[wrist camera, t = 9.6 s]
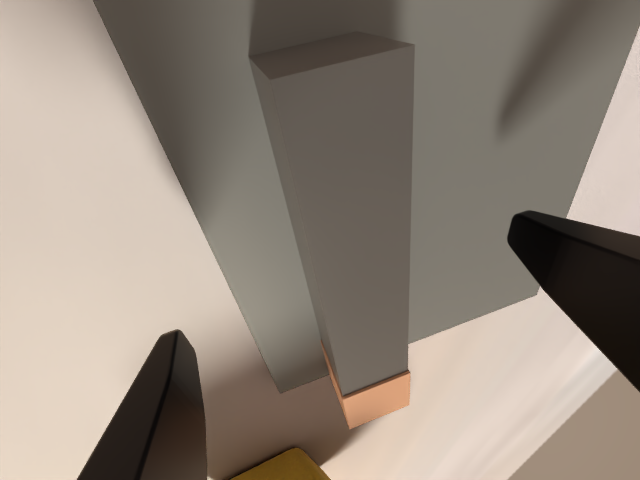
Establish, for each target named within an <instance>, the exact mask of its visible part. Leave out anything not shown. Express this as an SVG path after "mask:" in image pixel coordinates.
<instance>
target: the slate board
mask: <svg viewBox="0 0 640 480" xmlns="http://www.w3.org/2000/svg"><path fill="white" fill-rule="evenodd" d="M93 1H94V4H95V6H96V8H97V10H98V12H99V14H100V16H101V18H102V20H103V23H104V25H105V27H106V29H107V31H108V33H109V35H110V37H111V39H112V41H113V44H114V46H115V48H116V50H117V52H118V54H119V56H120V58H121V60H122V62H123V65H124V67H125V69H126V71H127V73H128V75H129V77H130V79H131V81H132V84H133V86H134V88H135V90H136V92H137V94H138V96H139V98H140V100H141V102H142V105H143V107H144V109H145V111H146V113H147V115H148V117H149V119H150V121H151V123H152V126H153V128H154V130H155V132H156V134H157V136H158V138H159V140H160V142H161V145H162V147H163V149H164V151H165V153H166V155H167V157H168V159H169V161H170V163H171V166H172V168H173V170H174V172H175V174H176V176H177V178H178V180H179V182H180V184H181V187H182V189H183V191H184V193H185V195H186V197H187V199H188V201H189V203H190V206H191V208H192V210H193V212H194V214H195V216H196V218H197V220H198V222H199V224H200V227H201V229H202V231H203V233H204V235H205V237H206V239H207V241H208V243H209V245H210V248H211V250H212V252H213V254H214V256H215V258H216V260H217V262H218V264H219V267H220V269H221V271H222V273H223V275H224V277H225V279H226V281H227V283H228V285H229V288H230V290H231V292H232V294H233V296H234V298H235V300H236V302H237V304H238V306H239V309H240V311H241V313H242V315H243V317H244V319H245V321H246V323H247V325H248V327H249V330H250V332H251V334H252V336H253V338H254V340H255V342H256V344H257V346H258V349H259V351H260V353H261V355H262V357H263V359H264V361H265V363H266V365H267V367H268V370H269V372H270V374H271V376H272V378H273V380H274V382H275V384H276V386H277V388H278V391H279V393H283V392H285V391H288V390H290V389H293V388H296V387H298V386H301V385H303V384H306V383H309V382H311V381H314V380H316V379H319V378H322V377H324V376H327V375H329V372H328V368H327V364H326V360H325V356H324V353H323V349H322V345H321V341H320V340H321V336H320V332H319V328H318V325H317V321H316V317H315V313H314V309H313V305H312V301H311V297H310V294H309V290H308V286H307V282H306V278H305V274H304V270H303V267H302V263H301V259H300V255H299V251H298V247H297V243H296V239H295V236H294V232H293V228H292V224H291V220H290V216H289V212H288V209H287V205H286V201H285V197H284V193H283V189H282V185H281V181H280V178H279V174H278V170H277V166H276V162H275V158H274V154H273V151H272V147H271V143H270V139H269V135H268V131H267V127H266V123H265V120H264V116H263V112H262V108H261V104H260V100H259V96H258V93H257V89H256V85H255V81H254V77H253V73H252V69H251V65H250V62H249V58H248V56H253V55H257V54H261V53H266V52H270V51H274V50H279V49H283V48H287V47H292V46H296V45H300V44H305V43H309V42H313V41H318V40H322V39H326V38H330V37H335V36H339V35H343V34H348V33H352V32H356V31H358V32H362V33H367V34H371V35H375V36H380V37H384V38H388V39H393V40H397V41H402V42H406V43H410V44H415V62H414V107H413V151H412V196H411V240H410V284H409V329H408V344H410V343H413V342H415V341H418V340H421V339H423V338H426V337H428V336H431V335H434V334H436V333H439V332H441V331H444V330H447V329H449V328H452V327H454V326H457V325H460V324H462V323H465V322H467V321H470V320H473V319H475V318H478V317H481V316H483V315H486V314H488V313H491V312H494V311H496V310H499V309H501V308H504V307H507V306H509V305H512V304H514V303H517V302H520V301H522V300H525V299H527V298H530V297H533V296H535V295H537V292H538V290H539V287H540V285H539V284H538V283H537V281H536V280H535V279H534V278H533V276H532V275H531V274H530V272H529V271H528V270H527V268H526V267H525V266H524V265H523V263H522V262H521V261H520V259H519V258H518V257H517V255H516V254H515V253H514V252H513V250H512V249H511V248H510V246H509V244H508V242H507V235H508V231H509V227H510V224H511V220H512V217H513V216H514V215H515V214H517V213H520V212H523V211H526V210H532V211H536V212H541V213H545V214H549V215H553V216H557V217H561V218H565V219H566V217H567V214H568V211H569V209H570V206H571V204H572V201H573V198H574V196H575V193H576V191H577V188H578V185H579V183H580V180H581V177H582V175H583V172H584V170H585V167H586V164H587V162H588V159H589V157H590V154H591V151H592V149H593V146H594V143H595V141H596V138H597V136H598V133H599V130H600V128H601V125H602V123H603V120H604V117H605V115H606V112H607V110H608V107H609V104H610V102H611V99H612V96H613V94H614V91H615V89H616V86H617V83H618V81H619V78H620V76H621V73H622V70H623V68H624V65H625V62H626V60H627V57H628V55H629V52H630V49H631V47H632V44H633V42H634V39H635V36H636V34H637V31H638V28H639V26H640V0H93Z"/></svg>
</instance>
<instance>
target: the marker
mask: <svg viewBox="0 0 640 480" xmlns="http://www.w3.org/2000/svg"><path fill="white" fill-rule="evenodd" d="M248 58H249V62H250V65H251V69H252V73H253V77H254V81H255V85H256V89H257V93H258V96H259V100H260V104H261V108H262V112H263V116H264V120H265V123H266V127H267V131H268V135H269V139H270V143H271V147H272V151H273V154H274V158H275V162H276V166H277V170H278V174H279V178H280V181H281V185H282V189H283V193H284V197H285V201H286V205H287V209H288V212H289V216H290V220H291V224H292V228H293V232H294V236H295V239H296V243H297V247H298V251H299V255H300V259H301V263H302V267H303V270H304V274H305V278H306V282H307V286H308V290H309V294H310V297H311V301H312V305H313V309H314V313H315V317H316V321H317V325H318V328H319V332H320V336H321V340H320V341H321V345H322V349H323V353H324V356H325V360H326V364H327V368H328V372H329V374H330V377H331V380H332V383H333V385H334V388H335V391H336V394H337V396H338V399H339V402H340V405H341V407H342V410H343V413H344V416H345V418H346V421H347V424H348V427H349V429H352V428H355V427H357V426H359V425H362V424H364V423H367V422H369V421H371V420H374V419H376V418H379V417H381V416H384V415H386V414H388V413H391V412H393V411H396V410H398V409H401V408H403V407H405V406H408V405H409V398H410V372H409V370H408V329H409V284H410V240H411V196H412V151H413V107H414V62H415V44H410V43H406V42H402V41H397V40H393V39H388V38H384V37H380V36H375V35H371V34H367V33H362V32H358V31H356V32H352V33H348V34H343V35H339V36H335V37H330V38H326V39H322V40H318V41H313V42H309V43H305V44H300V45H296V46H292V47H287V48H283V49H279V50H274V51H270V52H266V53H261V54H257V55H253V56H248Z"/></svg>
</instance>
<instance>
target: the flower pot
mask: <svg viewBox="0 0 640 480" xmlns="http://www.w3.org/2000/svg"><path fill="white" fill-rule="evenodd" d="M230 480H331V479H330V478H329V477H328V476H327V475H326V474H325V472H324V471H323V470H322V469H321V468H320V467H319V466H318V465H317V464H316V463H315V462H314V461H313V460H312V459H311V458H310V457H309V456H308V455H307V454H306V453H305V452H304V451H303V450H302V449H300V448H293V449H290V450H287V451H285V452H284V453H282V454H280V455H278V456H276V457H274V458H272V459H270V460H268V461H266V462H264V463H262V464H260V465H259V466H257V467H254V468H252V469H250V470H248V471H246V472H244V473H242V474H240V475H238V476H236V477H234V478H232V479H230Z"/></svg>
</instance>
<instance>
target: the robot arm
mask: <svg viewBox="0 0 640 480" xmlns="http://www.w3.org/2000/svg"><path fill="white" fill-rule="evenodd" d="M507 242H508V244H509V246H510V248H511V249H512V250H513V252H514V253H515V254H516V255H517V257H518V258H519V259H520V261H521V262H522V263H523V265H524V266H525V267H526V268H527V270H528V271H529V272H530V274H531V275H532V276H533V278H534V279H535V280H536V281H537V283H538V284H539V285H540V286H541V288H542V289H543V290H544V291H545V292H546V293H547V294H548V296H549V297H550V298H551V299H552V300H553V301H554V302H555V303H556V304H557V305H558V306H559V307H560V308H561V309H562V310H563V311H564V313H565V314H566V315H567V316H568V317H569V318H570V319H571V320H572V321H573V322H574V323H575V324H576V325H577V326H578V327H579V328H580V330H581V331H582V332H583V333H584V334H585V335H586V336H587V337H588V338H589V339H590V340H591V341H592V342H593V343H594V344H595V345H596V347H597V348H598V349H599V350H600V351H601V352H602V353H603V354H604V355H605V356H606V357H607V358H608V359H609V360H610V361H611V362H612V363H613V365H614V366H615V367H616V368H617V369H618V370H619V371H620V372H621V373H622V374H623V375H624V376H625V377H626V378H627V379H628V380H629V382H631V384H632V385H633V386H634V387H635V388H636V389H637V390H638V391H639V392H640V236H636V235H632V234H628V233H624V232H619V231H615V230H611V229H607V228H603V227H599V226H595V225H590V224H586V223H582V222H578V221H574V220H570V219H565V218H561V217H557V216H553V215H549V214H545V213H541V212H536V211H532V210H526V211H523V212H520V213H517V214H515V215H514V216H513V217H512V220H511V224H510V227H509V231H508V235H507ZM77 480H207V457H206V424H205V413H204V405H203V398H202V392H201V385H200V378H199V371H198V364H197V358H196V353H195V351H194V348H193V347H192V345H191V344H190V342H189V341H188V340H187V338H186V337H185V335H184V334H183V332H182V331H181V330H178V329H177V330H173V331H170V332H168V333H165V334H162V335H161V336H160V337H159V339H158V340H157V342H156V344H155V346H154V347H153V349H152V351H151V352H150V354H149V356H148V358H147V359H146V361H145V363H144V364H143V366H142V368H141V370H140V371H139V373H138V375H137V377H136V378H135V380H134V382H133V383H132V385H131V387H130V389H129V390H128V392H127V394H126V396H125V397H124V399H123V401H122V402H121V404H120V406H119V408H118V409H117V411H116V413H115V415H114V416H113V418H112V420H111V421H110V423H109V425H108V427H107V428H106V430H105V432H104V433H103V435H102V437H101V439H100V440H99V442H98V444H97V446H96V447H95V449H94V451H93V452H92V454H91V456H90V458H89V459H88V461H87V463H86V465H85V466H84V468H83V470H82V471H81V473H80V475H79V477H78V478H77Z"/></svg>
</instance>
